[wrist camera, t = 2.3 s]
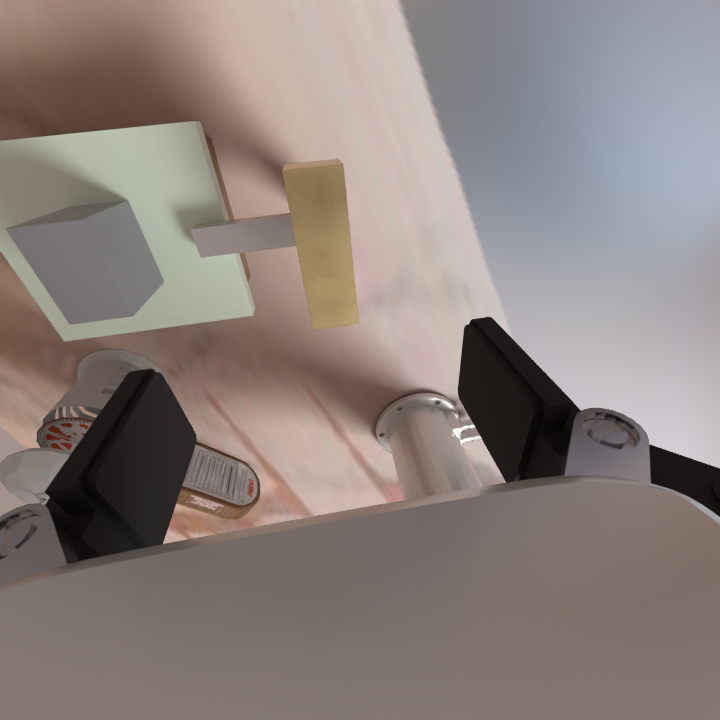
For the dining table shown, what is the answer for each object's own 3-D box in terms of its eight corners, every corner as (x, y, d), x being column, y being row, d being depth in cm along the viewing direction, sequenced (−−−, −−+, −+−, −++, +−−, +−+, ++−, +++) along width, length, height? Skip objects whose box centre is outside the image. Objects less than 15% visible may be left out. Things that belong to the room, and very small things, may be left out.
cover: (200, 121, 23) (161, 119, 17) (255, 308, 31) (243, 353, 25) (-52, 146, 22) (-191, 155, 16) (74, 332, 30) (14, 386, 24)
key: (326, 146, 29) (343, 163, 16) (339, 250, 34) (359, 323, 22) (204, 160, 29) (122, 188, 16) (235, 263, 34) (193, 347, 21)
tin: (160, 440, 46) (135, 495, 40) (171, 427, 45) (148, 481, 38) (254, 477, 54) (247, 529, 47) (266, 467, 52) (260, 518, 46)
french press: (147, 342, 38) (-35, 595, 17) (188, 416, 45) (90, 660, 24) (57, 356, 37) (-240, 632, 17) (111, 428, 44) (-54, 688, 24)
